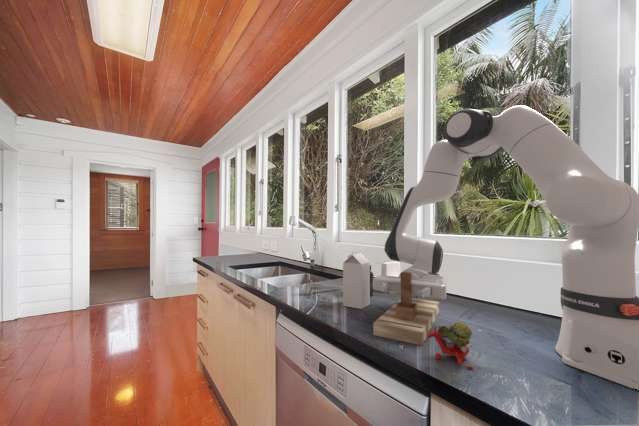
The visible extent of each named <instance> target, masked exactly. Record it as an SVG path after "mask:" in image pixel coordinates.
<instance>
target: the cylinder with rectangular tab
mask: <svg viewBox="0 0 639 426" xmlns="http://www.w3.org/2000/svg"><path fill="white" fill-rule="evenodd" d="M380 267H381V268H380V269H381V272H380V273H381V275H380V276H396V277H399V275H400V273H401V272H402V269H401V262H400V261H389V262H381V266H380ZM389 294H392V293H391V292H390V293H389Z"/></svg>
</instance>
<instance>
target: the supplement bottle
mask: <svg viewBox="0 0 639 426" xmlns="http://www.w3.org/2000/svg"><path fill="white" fill-rule="evenodd" d="M373 278H375V277H374V273H373V272H372V264H370V297H373V296H374V291H375V290H374V289H373Z"/></svg>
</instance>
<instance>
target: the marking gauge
mask: <svg viewBox="0 0 639 426" xmlns="http://www.w3.org/2000/svg"><path fill="white" fill-rule="evenodd" d="M411 282H412V280H411V272H403V271H401V294H400V298H401V302H400V303H399V304H398V305H397V306H396V318H399V319H405V320H411V321H412V320H413V319H414V318H415V316H416V315H417V304H415V303H412V295H411V293H412V291H411Z"/></svg>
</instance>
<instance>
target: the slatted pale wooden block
mask: <svg viewBox="0 0 639 426" xmlns="http://www.w3.org/2000/svg"><path fill="white" fill-rule="evenodd" d="M400 302H401V297H400V298H399V299H398V300H397V301H396V302H395V303H394V304H393V305H391V307H390V308H388V309H387V310H386V311H385V312H384V313H383V314H382V315H380V316H379V317H378V318H377V319H376V320H375V321H373V323H372V327H373V328H372V331H373V332H372V335H373V336H376V337H380V338H384V339H385V338H386V339H391V340H395V341H400V342H403V343H409V344H414V345H418V346H419V345H420V346H423V345H424V344H425V341H426V339H427V338H428V337H427V335H428V334H429V333H430V331H431V329H432V327H433V325H434V323H435V321H436V319H437V316H438V315H439V313H440V302H439V301H435V300H434V301H433V300H427V299H419V298H412V303H415V304H417V315H416V316H415V318H414V319H413V320H412V321H411V320H405V319H399V318H396V306H397V305H398V304H399V303H400Z"/></svg>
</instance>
